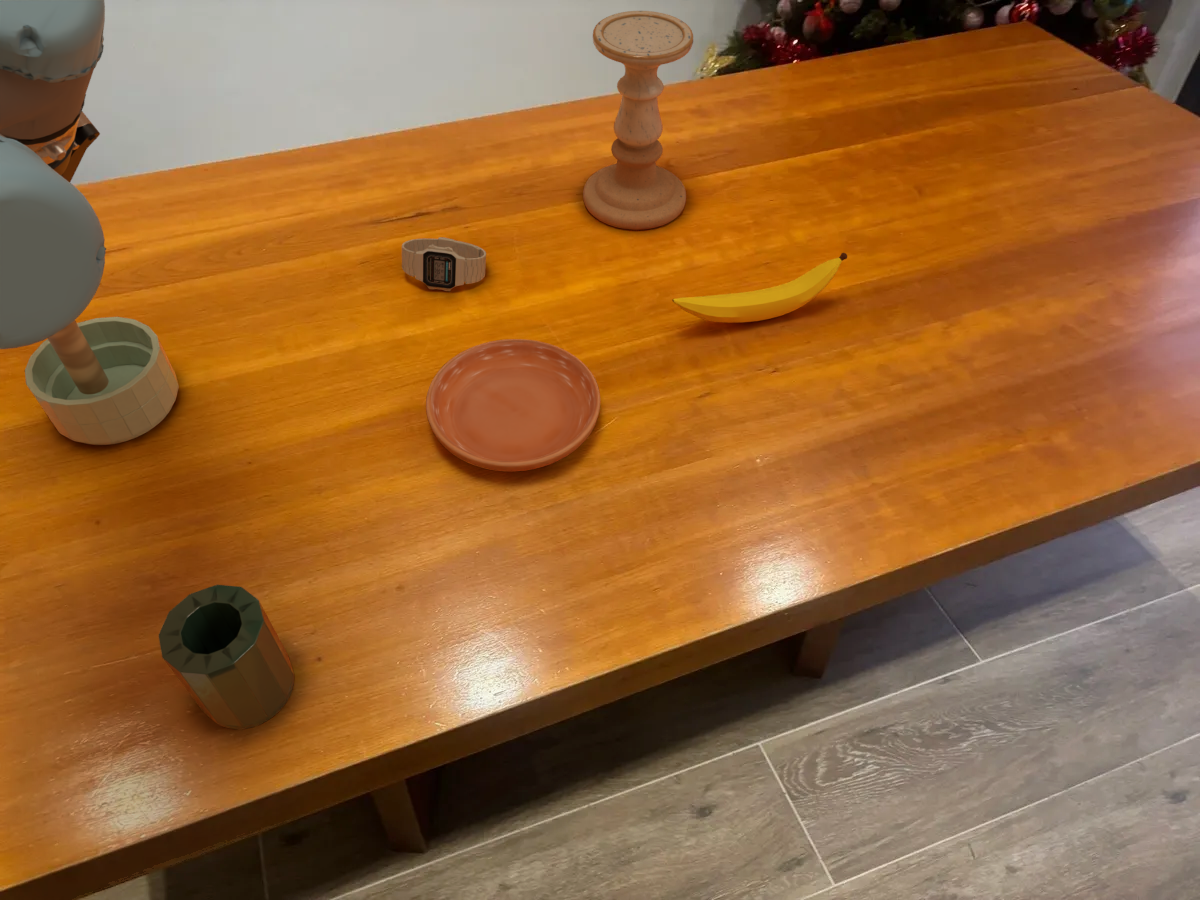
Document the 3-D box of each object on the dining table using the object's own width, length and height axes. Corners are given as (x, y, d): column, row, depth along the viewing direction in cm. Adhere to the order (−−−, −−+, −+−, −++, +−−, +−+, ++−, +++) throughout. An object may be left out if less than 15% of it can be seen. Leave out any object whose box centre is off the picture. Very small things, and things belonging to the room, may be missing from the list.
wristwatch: (398, 289, 97) (391, 252, 93) (410, 253, 101) (403, 215, 97) (483, 294, 96) (479, 256, 92) (491, 257, 100) (488, 220, 97)
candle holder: (613, 242, 102) (619, 71, 87) (565, 186, 109) (563, 19, 94) (705, 214, 106) (726, 45, 91) (653, 161, 113) (664, -3, 98)
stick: (79, 398, 81) (-66, 161, 63) (77, 379, 83) (-65, 142, 64) (110, 389, 82) (-25, 153, 64) (107, 371, 83) (-25, 135, 65)
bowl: (60, 464, 80) (28, 420, 76) (51, 382, 87) (21, 336, 82) (189, 426, 84) (167, 381, 79) (172, 350, 90) (150, 304, 85)
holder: (211, 744, 64) (167, 688, 57) (196, 666, 68) (152, 606, 61) (303, 707, 66) (271, 649, 59) (283, 634, 70) (251, 572, 63)
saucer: (627, 392, 87) (628, 370, 85) (549, 510, 78) (548, 489, 76) (485, 340, 92) (483, 318, 89) (395, 446, 82) (390, 424, 80)
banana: (663, 327, 93) (668, 279, 89) (827, 292, 98) (840, 244, 93) (673, 346, 92) (679, 298, 87) (840, 309, 96) (853, 261, 91)
